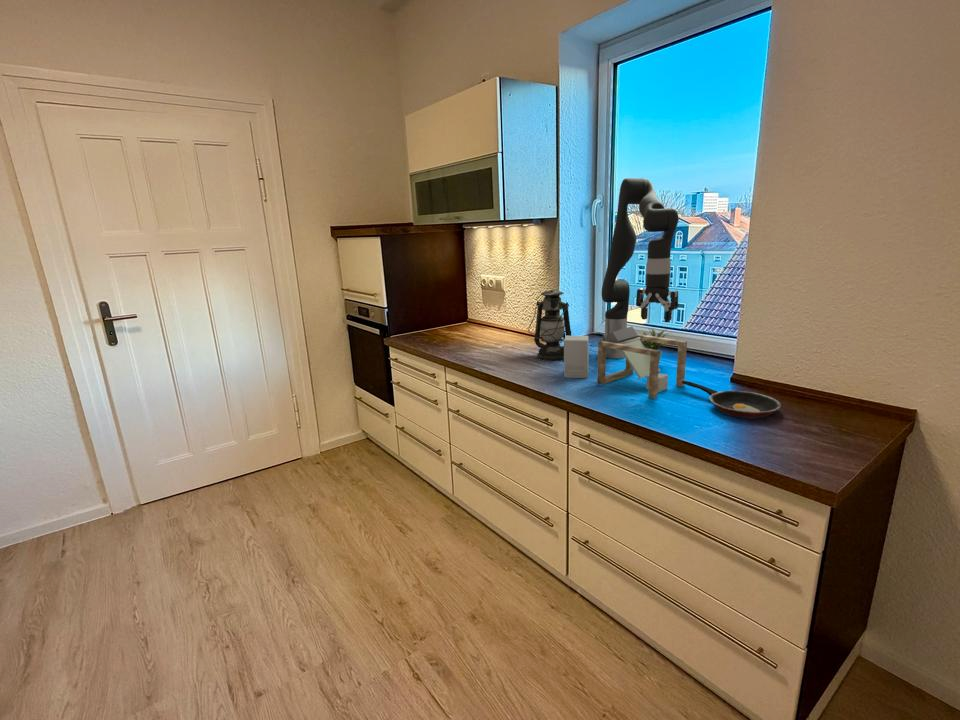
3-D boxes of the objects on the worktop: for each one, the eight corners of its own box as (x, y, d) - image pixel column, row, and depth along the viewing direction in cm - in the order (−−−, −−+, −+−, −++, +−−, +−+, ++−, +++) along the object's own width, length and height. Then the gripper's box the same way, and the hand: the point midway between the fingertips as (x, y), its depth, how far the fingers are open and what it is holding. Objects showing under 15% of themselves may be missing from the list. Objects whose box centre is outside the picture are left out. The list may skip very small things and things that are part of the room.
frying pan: (752, 427, 132) (754, 414, 132) (661, 396, 160) (662, 385, 159) (793, 413, 141) (795, 401, 140) (700, 385, 168) (701, 375, 167)
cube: (646, 375, 166) (660, 378, 162) (655, 372, 169) (668, 375, 165) (646, 389, 168) (659, 392, 164) (654, 385, 170) (667, 388, 167)
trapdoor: (601, 340, 173) (610, 332, 169) (625, 333, 181) (634, 326, 178) (630, 384, 167) (640, 377, 163) (653, 375, 175) (663, 368, 172)
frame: (597, 384, 175) (598, 341, 171) (628, 372, 187) (629, 332, 182) (653, 398, 158) (656, 351, 154) (684, 385, 169) (687, 341, 165)
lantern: (579, 355, 215) (579, 289, 208) (559, 366, 201) (558, 294, 193) (542, 351, 226) (541, 287, 219) (521, 360, 212) (519, 293, 204)
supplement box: (588, 371, 191) (589, 335, 187) (587, 378, 182) (587, 340, 178) (565, 371, 193) (565, 334, 189) (563, 377, 185) (563, 339, 181)
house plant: (677, 364, 195) (679, 324, 190) (669, 373, 184) (671, 331, 179) (641, 360, 202) (643, 322, 198) (632, 369, 191) (633, 329, 187)
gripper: (684, 271, 155) (681, 321, 159) (645, 270, 165) (643, 316, 170) (671, 274, 150) (668, 324, 154) (632, 272, 161) (630, 319, 165)
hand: (655, 320), depth 162 cm, fingers open, 8 cm apart
